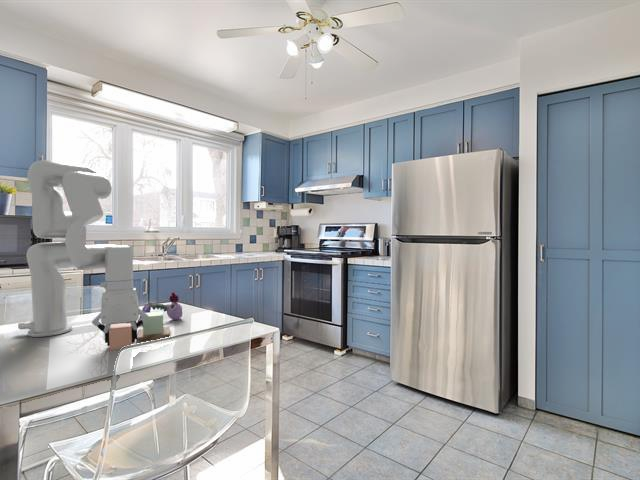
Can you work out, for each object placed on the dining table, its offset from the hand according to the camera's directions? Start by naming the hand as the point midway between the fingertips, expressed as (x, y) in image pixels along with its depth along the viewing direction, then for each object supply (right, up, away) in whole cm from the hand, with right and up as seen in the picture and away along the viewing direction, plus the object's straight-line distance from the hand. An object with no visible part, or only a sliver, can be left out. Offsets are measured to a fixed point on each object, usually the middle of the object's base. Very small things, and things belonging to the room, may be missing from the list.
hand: (121, 342), depth 113 cm
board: (+5, -1, +10) cm, 11 cm away
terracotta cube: (0, -1, +1) cm, 1 cm away
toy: (-1, 0, +31) cm, 31 cm away
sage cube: (+5, +1, +10) cm, 11 cm away
